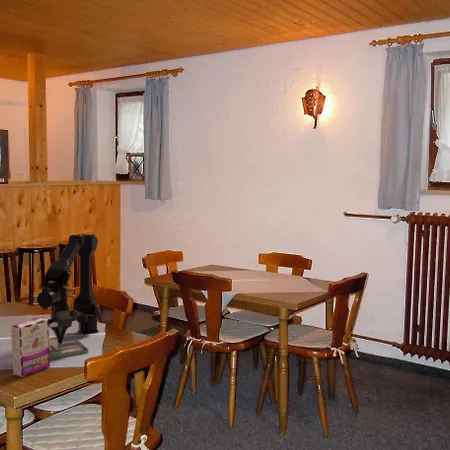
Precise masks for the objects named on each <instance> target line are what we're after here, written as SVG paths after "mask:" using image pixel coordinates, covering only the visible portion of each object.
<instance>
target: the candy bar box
mask: <svg viewBox="0 0 450 450" xmlns="http://www.w3.org/2000/svg"><path fill="white" fill-rule="evenodd" d="M34 318H35V319H33V318H31V319H28V320H26V321H22V322H17V323H15V324H11V325H10V334H11V337H10V338H11V351H12V352H11V355H12V357H11V358H12V373H13V376H17V377H19V378H25V377H27V376H31V375H32V374H35V373H39V372H41V371H43V370H45V369H48V368H50V367H51V361H50V360H51V359H50V355H49V337H50V335H49V334H50V333H49V327H48V319H49V318H44V317H43V318H41V317H40V316H39V317H34Z"/></svg>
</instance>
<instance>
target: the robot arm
mask: <svg viewBox="0 0 450 450" xmlns="http://www.w3.org/2000/svg"><path fill="white" fill-rule="evenodd" d="M98 243H99V239H98V237H97V236H96V235H95V234H94V233H93V234H92V233H91V234H90V233H79V234H71V235H69V237H68V242H67V243H66V245H65V247H64V249H63V251H62V252H61V255H60V256H59V258H58V259H57V260H55V261H54V262H52V263H51V265H50V266H49V267H48V268H47V270H46V272H45V276H44V279H43V282H42V285H41V286H42V290H41V292H39V294H38V295H37V297H36V302H37V305H38V306H39V307H41V308H42V309H49V308H50V318H47V319H48V329H51V330H52V331H53V334H54V335H55V336H54V337H55V338H56V339H57V343H59V344H62V342H64V337H65V334H66V332H67V330H68V329H69V328H70V327H71V328H72V326H73V322H77V324H78V331H79V333H81V334H82V335H86V334H87V335H88V334H94V333H98V332H100V331H99V330H98V318H101V312H102V311H101V308H100V307H99V305H98V302H97V301H98V300H97V297H96V296H95V294H94V292H93V256H94V254H95V252H96V251H97V248H98V247H97V246H98ZM77 255H78V256H79V293H78V295H77V297H75V298H74V310H70V309H69V307H70V306H69V304H68V287H69V286H70V284H69V282H70V278H71V275H72V269H71V267H72V264H73V263H74V261H75V259H76V256H77ZM35 318H36V317H33V318H32V319H35ZM41 318H44V317H43V316H42V317H41Z"/></svg>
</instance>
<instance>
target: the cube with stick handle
mask: <svg viewBox="0 0 450 450" xmlns="http://www.w3.org/2000/svg"><path fill="white" fill-rule="evenodd" d="M57 343H58V341H57V338H56V336H54V335H53V336H49V350H51V349H52V350H53V351H55V349H57Z"/></svg>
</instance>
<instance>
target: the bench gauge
mask: <svg viewBox="0 0 450 450" xmlns="http://www.w3.org/2000/svg"><path fill="white" fill-rule="evenodd" d="M88 353H89V349H88V348H87V347H86V346H85V344H83V343H82V342H80V340H78V339H71V340H66V341H62V344H59V343H58V342H57V349H55V351H53V350H52V349H51V350H49V355H50V360H56V359H60V358H66V357H71V356H77V355H82V354H83V355H84V354H88Z"/></svg>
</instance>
